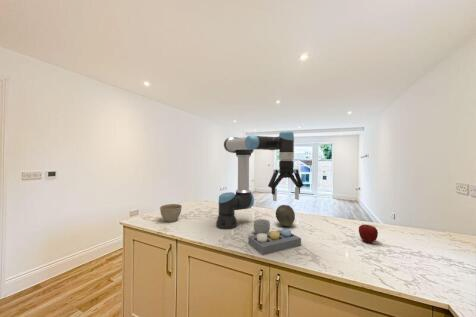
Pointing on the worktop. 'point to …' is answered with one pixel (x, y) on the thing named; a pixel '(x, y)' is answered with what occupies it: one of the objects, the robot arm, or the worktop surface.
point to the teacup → (261, 226)
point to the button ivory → (261, 238)
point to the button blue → (286, 233)
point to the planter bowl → (170, 212)
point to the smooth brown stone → (285, 215)
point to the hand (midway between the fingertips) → (286, 200)
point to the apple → (368, 233)
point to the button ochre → (274, 235)
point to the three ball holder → (274, 243)
